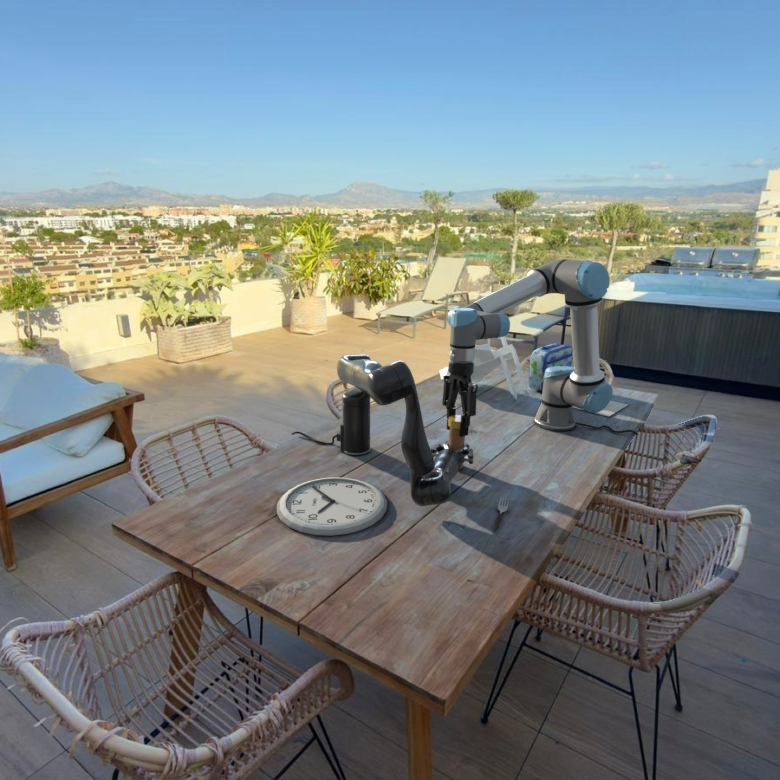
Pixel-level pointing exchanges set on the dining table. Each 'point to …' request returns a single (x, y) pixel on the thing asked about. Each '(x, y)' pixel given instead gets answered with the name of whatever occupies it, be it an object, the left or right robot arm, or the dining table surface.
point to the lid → (454, 421)
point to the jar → (456, 440)
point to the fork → (501, 509)
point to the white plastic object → (494, 364)
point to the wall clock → (331, 506)
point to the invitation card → (610, 408)
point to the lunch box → (547, 362)
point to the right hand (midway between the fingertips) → (457, 431)
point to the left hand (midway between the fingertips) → (458, 444)
